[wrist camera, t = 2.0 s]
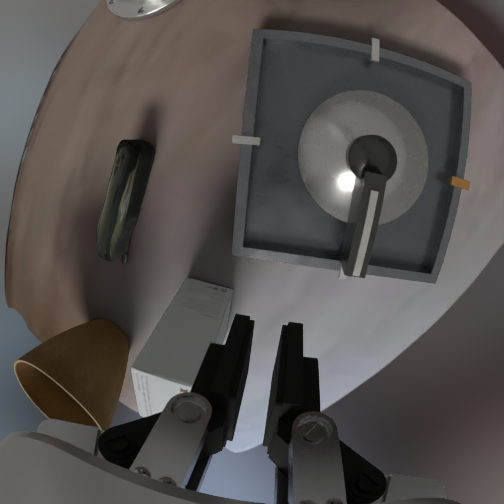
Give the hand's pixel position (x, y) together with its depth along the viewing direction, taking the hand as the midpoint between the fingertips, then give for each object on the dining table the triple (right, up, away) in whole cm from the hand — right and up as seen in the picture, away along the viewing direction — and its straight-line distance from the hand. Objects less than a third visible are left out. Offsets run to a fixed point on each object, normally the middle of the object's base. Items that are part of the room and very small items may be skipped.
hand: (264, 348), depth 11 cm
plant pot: (-23, -9, +28) cm, 37 cm away
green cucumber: (-14, +9, +20) cm, 26 cm away
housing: (+10, +13, +14) cm, 22 cm away
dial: (+9, +11, +13) cm, 20 cm away
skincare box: (-6, -3, +23) cm, 24 cm away
